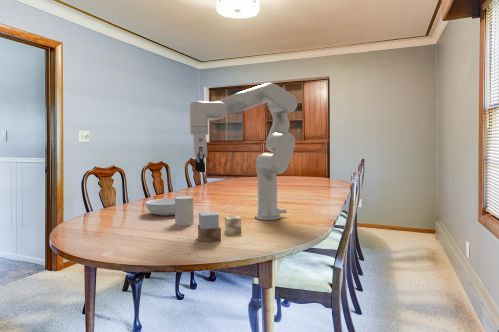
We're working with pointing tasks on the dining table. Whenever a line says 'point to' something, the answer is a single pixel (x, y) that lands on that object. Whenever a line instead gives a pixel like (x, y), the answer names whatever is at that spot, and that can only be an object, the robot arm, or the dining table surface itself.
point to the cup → (184, 210)
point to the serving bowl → (161, 206)
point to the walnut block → (209, 234)
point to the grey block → (208, 220)
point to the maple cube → (232, 224)
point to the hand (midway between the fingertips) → (200, 171)
